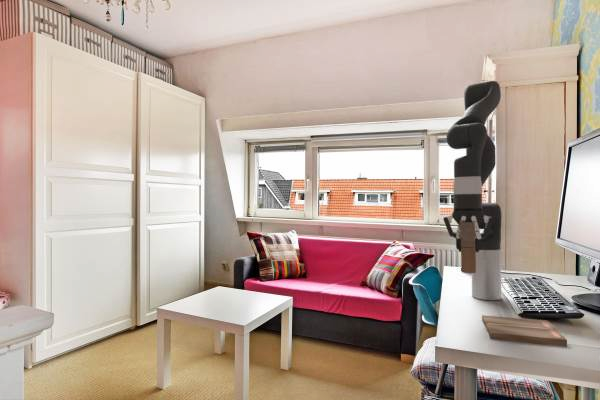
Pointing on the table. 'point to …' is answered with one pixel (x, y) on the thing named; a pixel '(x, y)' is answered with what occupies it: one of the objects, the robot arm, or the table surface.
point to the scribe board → (523, 330)
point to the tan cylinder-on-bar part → (468, 247)
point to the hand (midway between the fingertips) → (468, 251)
